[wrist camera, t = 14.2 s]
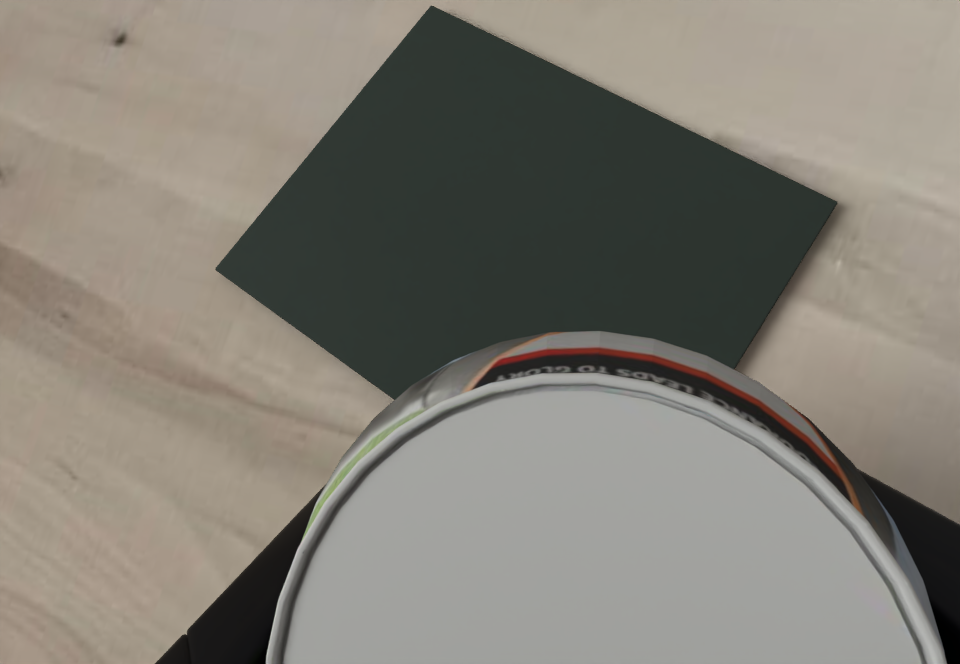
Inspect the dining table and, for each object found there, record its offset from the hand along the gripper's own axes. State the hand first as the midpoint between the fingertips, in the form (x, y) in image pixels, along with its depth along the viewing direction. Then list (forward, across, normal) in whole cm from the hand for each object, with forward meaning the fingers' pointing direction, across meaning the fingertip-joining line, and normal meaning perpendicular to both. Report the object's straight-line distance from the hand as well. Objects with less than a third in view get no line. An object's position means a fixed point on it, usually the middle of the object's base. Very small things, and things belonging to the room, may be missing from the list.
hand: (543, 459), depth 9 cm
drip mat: (+16, 0, +2) cm, 16 cm away
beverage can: (+4, 0, +6) cm, 7 cm away
